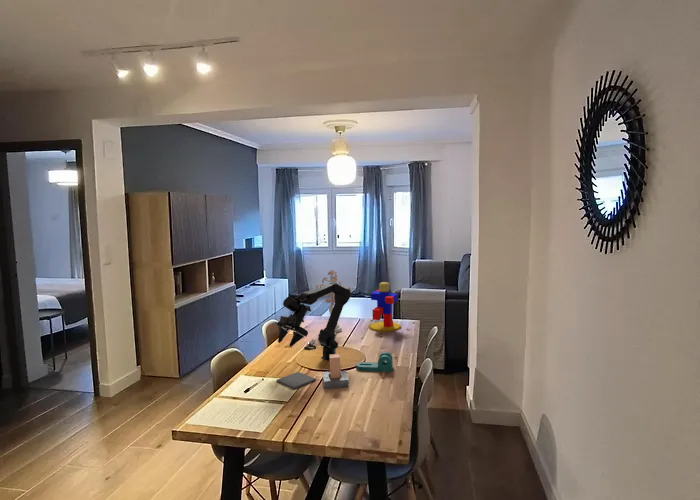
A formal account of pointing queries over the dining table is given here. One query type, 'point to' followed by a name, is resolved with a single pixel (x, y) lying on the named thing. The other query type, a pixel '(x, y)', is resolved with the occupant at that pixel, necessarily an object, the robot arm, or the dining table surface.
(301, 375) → the mat
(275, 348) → the dining table surface
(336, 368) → the peg
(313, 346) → the micrometer
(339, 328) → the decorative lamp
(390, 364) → the bracket
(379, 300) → the figurine
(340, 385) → the socket block
